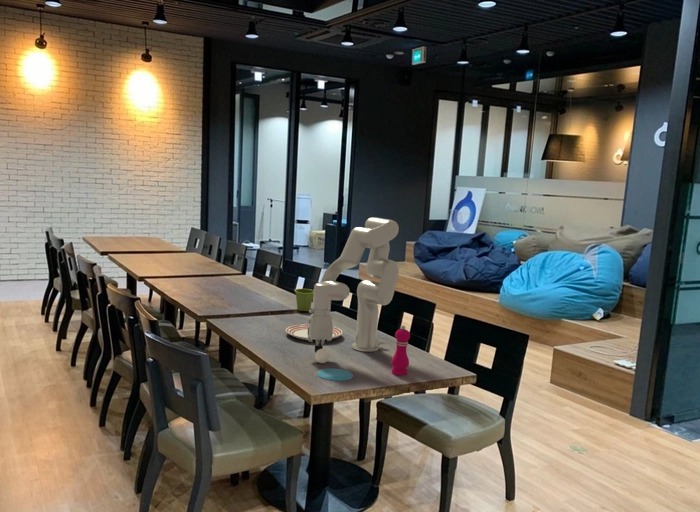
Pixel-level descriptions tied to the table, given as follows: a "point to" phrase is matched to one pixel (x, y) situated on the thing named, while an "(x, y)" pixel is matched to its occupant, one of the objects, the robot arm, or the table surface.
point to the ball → (322, 356)
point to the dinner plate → (302, 331)
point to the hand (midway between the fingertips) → (318, 353)
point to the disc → (334, 374)
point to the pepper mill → (401, 352)
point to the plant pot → (304, 299)
